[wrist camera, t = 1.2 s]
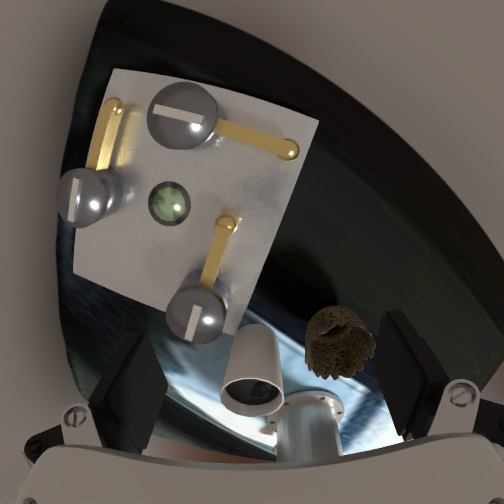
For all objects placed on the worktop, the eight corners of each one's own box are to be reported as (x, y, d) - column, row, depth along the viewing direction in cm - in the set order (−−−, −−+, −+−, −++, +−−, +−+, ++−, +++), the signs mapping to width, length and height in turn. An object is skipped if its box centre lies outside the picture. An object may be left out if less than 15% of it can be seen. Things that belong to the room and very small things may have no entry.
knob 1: (158, 141, 26) (135, 140, 21) (177, 87, 24) (157, 74, 19) (286, 182, 27) (290, 189, 22) (307, 126, 25) (316, 120, 20)
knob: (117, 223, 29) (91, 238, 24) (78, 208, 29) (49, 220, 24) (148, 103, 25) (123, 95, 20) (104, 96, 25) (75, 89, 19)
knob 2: (221, 324, 33) (213, 354, 28) (174, 308, 33) (159, 335, 28) (260, 219, 29) (258, 235, 23) (204, 199, 28) (189, 211, 23)
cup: (318, 278, 32) (331, 315, 25) (367, 300, 33) (389, 338, 25) (288, 327, 35) (292, 370, 27) (336, 344, 35) (348, 387, 28)
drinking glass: (274, 315, 34) (276, 372, 25) (286, 355, 36) (290, 412, 27) (223, 326, 35) (209, 382, 26) (239, 363, 37) (231, 419, 28)
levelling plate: (236, 329, 35) (234, 336, 34) (78, 268, 34) (72, 272, 32) (316, 122, 26) (319, 120, 25) (120, 71, 25) (113, 68, 23)
